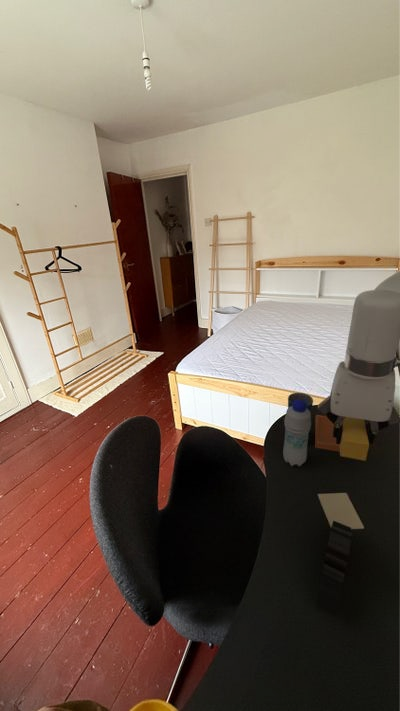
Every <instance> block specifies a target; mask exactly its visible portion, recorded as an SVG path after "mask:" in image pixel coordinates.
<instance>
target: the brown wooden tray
mask: <svg viewBox="0 0 400 711" xmlns="http://www.w3.org/2000/svg"><path fill="white" fill-rule="evenodd" d="M314 419H315V420H314V448H316V449H322V450H328V451H332V452H339V453H340V446H339V444H336V438H335V437H333V429H334V424H333V423H332V422H331V421H330V420H329V419H328V418H327V416H326V415H323V414H315V418H314Z"/></svg>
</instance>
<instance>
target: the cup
mask: <svg viewBox="0 0 400 711" xmlns="http://www.w3.org/2000/svg"><path fill="white" fill-rule="evenodd" d="M295 400H303V401H305V403H306V408H307V409H308V410H309V411H310V413H311V414H312V409H313V404H314V399H313V397H312V396H311V395H309V394H306V393H303V392H293V393H290V394H289V395H288V396H287V409H288V408H289V407H291V406H292V405H293V402H294V401H295Z"/></svg>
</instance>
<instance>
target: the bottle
mask: <svg viewBox="0 0 400 711" xmlns="http://www.w3.org/2000/svg"><path fill="white" fill-rule="evenodd" d="M311 414H312V412H311V413H310V411H309V410H308V409H307V408H306V403H305V401H303V400H295V401H294V402H293V405H292V406H291V407H289V408H288V407H287V409H286V412H285V417H284V420H283V421H284V428H285V431H284V442H283V449H282V455H283V459H284V462H285V463H287V464H288V463H289V465H290V466H291V467H294V466H295V465H296V466H297V467H301V466H303V464H305V463H306V461H307V457H308V441H309V433H310V430H311V427H312V415H311Z"/></svg>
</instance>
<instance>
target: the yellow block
mask: <svg viewBox="0 0 400 711" xmlns="http://www.w3.org/2000/svg"><path fill="white" fill-rule="evenodd" d="M342 425H343V432H342V437H341V442H340V444H339V446H340V452H339V456H340V457H342V458H343V457H344V458H349V459H354V460H358V461H359V460H360V461H365V462H366V460H367V456H368V451H369V450H368V448H369V449H370V446H369V441H368V436H367V432H366V427H365V426H366V420H363V419H357V418H350V417H345V419H344V421H343V423H342Z"/></svg>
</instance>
